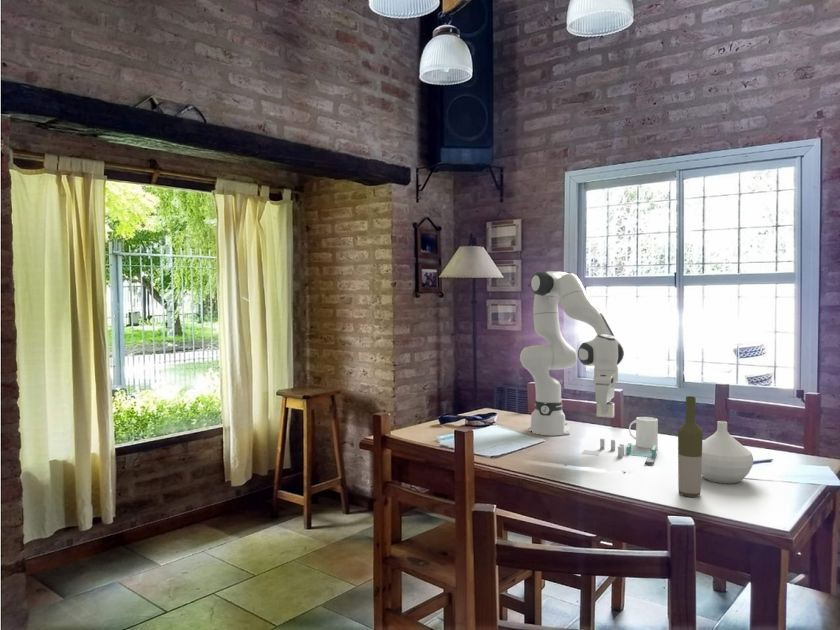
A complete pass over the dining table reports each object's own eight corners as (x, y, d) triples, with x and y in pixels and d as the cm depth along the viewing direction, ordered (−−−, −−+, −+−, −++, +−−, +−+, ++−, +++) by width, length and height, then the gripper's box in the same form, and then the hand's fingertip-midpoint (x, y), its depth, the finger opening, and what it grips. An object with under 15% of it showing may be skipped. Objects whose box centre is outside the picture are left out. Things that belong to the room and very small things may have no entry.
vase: (750, 491, 192) (751, 430, 192) (687, 482, 202) (687, 423, 201) (754, 476, 208) (755, 420, 207) (695, 468, 217) (696, 414, 217)
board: (586, 448, 246) (587, 435, 246) (656, 455, 235) (656, 442, 235) (579, 457, 233) (579, 443, 232) (653, 465, 221) (653, 451, 221)
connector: (598, 414, 242) (598, 401, 241) (614, 415, 239) (614, 402, 239) (596, 416, 238) (596, 402, 238) (612, 417, 235) (612, 403, 235)
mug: (623, 446, 250) (624, 417, 249) (636, 443, 255) (636, 414, 254) (650, 452, 240) (650, 421, 240) (662, 449, 245) (662, 419, 245)
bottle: (681, 489, 194) (683, 394, 193) (705, 494, 189) (706, 396, 188) (673, 495, 189) (674, 397, 188) (697, 500, 184) (699, 399, 183)
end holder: (628, 450, 238) (628, 442, 238) (656, 453, 234) (656, 445, 234) (626, 454, 232) (626, 446, 232) (654, 457, 227) (654, 449, 227)
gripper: (602, 373, 249) (601, 407, 249) (592, 379, 230) (592, 416, 231) (618, 374, 246) (618, 408, 246) (609, 380, 228) (609, 417, 228)
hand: (605, 412), depth 238 cm, fingers closed on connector, 4 cm apart
